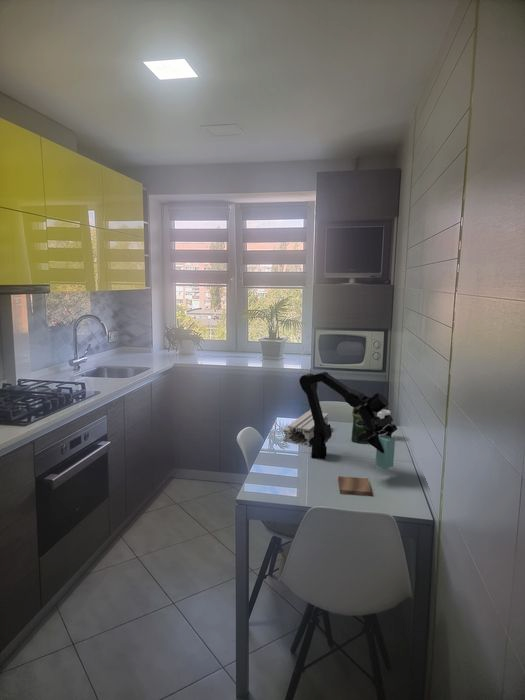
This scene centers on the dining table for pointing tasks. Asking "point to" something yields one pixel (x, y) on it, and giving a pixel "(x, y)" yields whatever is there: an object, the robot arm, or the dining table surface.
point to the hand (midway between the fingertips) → (387, 451)
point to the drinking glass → (383, 415)
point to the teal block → (386, 452)
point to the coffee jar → (357, 427)
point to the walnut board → (354, 486)
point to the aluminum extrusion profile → (301, 429)
